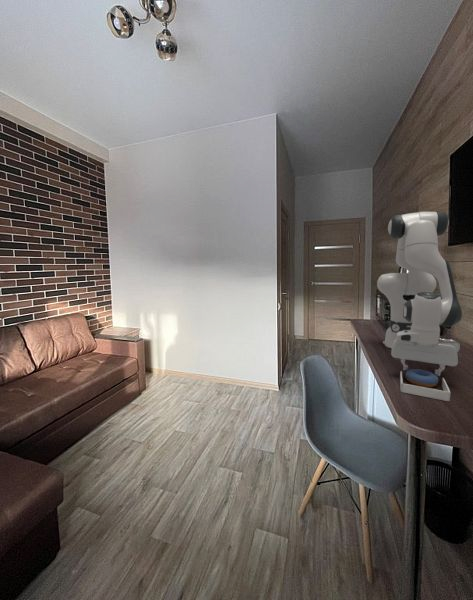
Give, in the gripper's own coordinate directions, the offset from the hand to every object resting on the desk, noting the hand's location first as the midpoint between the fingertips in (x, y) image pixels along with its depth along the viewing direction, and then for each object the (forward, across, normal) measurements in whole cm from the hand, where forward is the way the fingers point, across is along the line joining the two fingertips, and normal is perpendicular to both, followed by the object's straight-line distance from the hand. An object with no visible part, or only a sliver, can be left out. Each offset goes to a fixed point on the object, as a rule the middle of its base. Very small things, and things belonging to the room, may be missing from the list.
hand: (421, 372), depth 101 cm
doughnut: (+3, 0, +3) cm, 4 cm away
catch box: (+3, 0, +9) cm, 9 cm away
